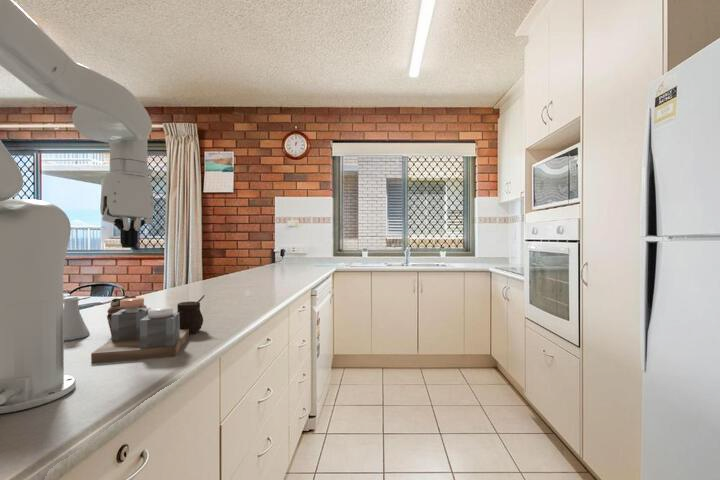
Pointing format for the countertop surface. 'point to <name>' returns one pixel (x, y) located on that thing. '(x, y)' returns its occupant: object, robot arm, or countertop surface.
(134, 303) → the orange rounded piece
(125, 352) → the board
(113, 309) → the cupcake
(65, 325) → the flask
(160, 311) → the white round part
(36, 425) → the countertop surface
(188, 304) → the mate gourd
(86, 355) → the countertop surface
